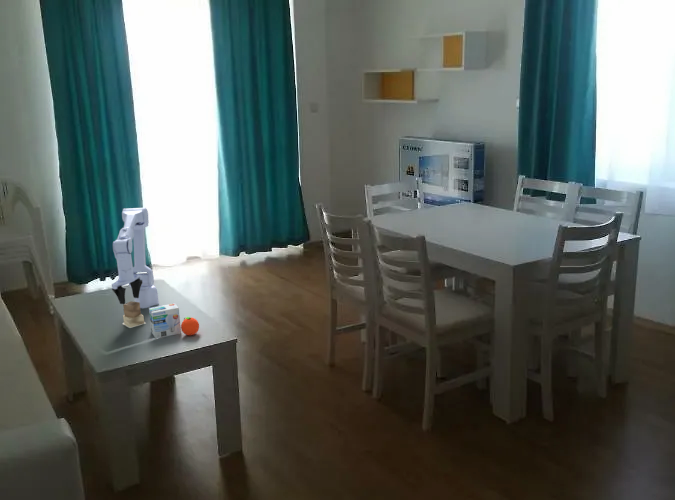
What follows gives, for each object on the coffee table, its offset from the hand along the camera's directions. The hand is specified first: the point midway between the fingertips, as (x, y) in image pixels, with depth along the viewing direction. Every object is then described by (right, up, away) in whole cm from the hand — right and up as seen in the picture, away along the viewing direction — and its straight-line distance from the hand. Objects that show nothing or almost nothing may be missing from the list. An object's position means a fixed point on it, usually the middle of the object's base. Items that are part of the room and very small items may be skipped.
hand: (129, 300), depth 268 cm
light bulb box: (+17, -12, -8) cm, 23 cm away
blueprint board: (-2, -10, +2) cm, 11 cm away
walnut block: (+1, -6, 0) cm, 6 cm away
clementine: (+27, -13, -10) cm, 32 cm away
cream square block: (+2, -9, +1) cm, 10 cm away
